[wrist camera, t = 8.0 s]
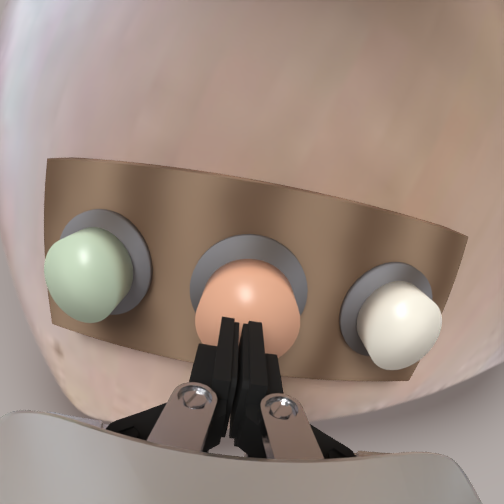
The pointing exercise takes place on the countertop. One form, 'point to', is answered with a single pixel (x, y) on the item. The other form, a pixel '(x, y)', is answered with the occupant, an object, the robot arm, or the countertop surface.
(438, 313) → the button cream
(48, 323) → the countertop surface
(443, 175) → the countertop surface
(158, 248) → the console
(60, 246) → the button sage
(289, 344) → the button terracotta
